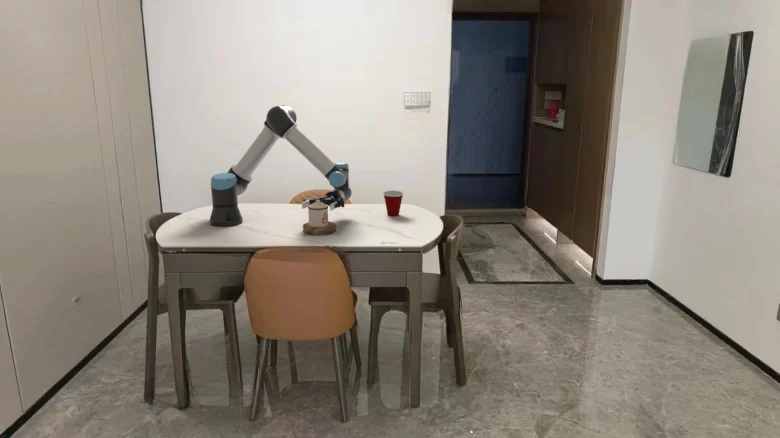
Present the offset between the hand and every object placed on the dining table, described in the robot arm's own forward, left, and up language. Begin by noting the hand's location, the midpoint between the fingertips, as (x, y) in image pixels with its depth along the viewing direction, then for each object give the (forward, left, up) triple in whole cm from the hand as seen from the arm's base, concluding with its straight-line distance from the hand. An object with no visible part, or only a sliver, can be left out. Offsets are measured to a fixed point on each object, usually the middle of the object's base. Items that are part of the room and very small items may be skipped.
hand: (316, 206), depth 241 cm
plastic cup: (+24, +44, -12) cm, 51 cm away
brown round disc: (0, +3, -12) cm, 12 cm away
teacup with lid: (0, +3, -9) cm, 10 cm away
